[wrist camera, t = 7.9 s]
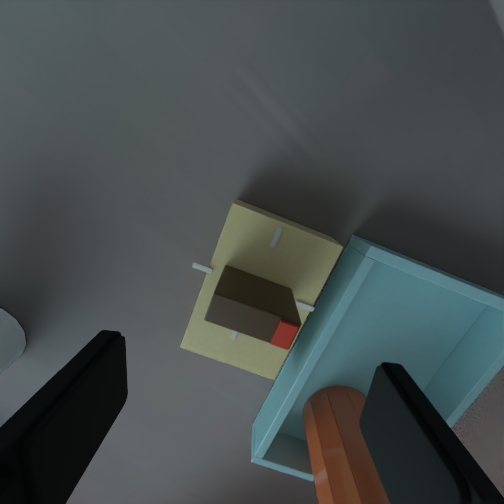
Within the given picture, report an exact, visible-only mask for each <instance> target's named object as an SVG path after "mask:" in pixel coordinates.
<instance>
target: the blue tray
mask: <svg viewBox="0 0 504 504" xmlns="http://www.w3.org/2000/svg"><path fill="white" fill-rule="evenodd" d="M382 362H390V363H399V364H401V365H402V366H403V367H404V368H405V369H406V371H407V372H408V373H409V375H410V376H411V377H412V379H413V380H414V381H415V382H416V384H417V385H418V386H419V388H420V389H421V390H422V392H423V393H424V394H425V396H426V397H427V398H428V399H429V401H430V402H431V403H432V405H433V406H434V407H435V409H436V410H437V411H438V413H439V414H440V415H441V416H442V418H443V419H444V420H445V422H446V423H447V424H448V426H449V427H450V428H451V427H452V426H453V425H454V424H455V422H456V421H457V420H458V419H459V418H460V417H461V415H462V414H463V413H464V412H465V411H466V409H467V408H468V407H469V406H470V405H471V404H472V402H473V401H474V400H475V399H476V398H477V397H478V395H479V394H480V393H481V392H482V391H483V389H484V388H485V387H486V386H487V385H488V384H489V382H490V381H491V380H492V379H493V378H494V376H495V375H496V374H497V373H498V372H499V371H500V369H501V368H502V367H503V366H504V296H503V295H501V294H499V293H496V292H494V291H491V290H489V289H487V288H484V287H482V286H479V285H477V284H474V283H472V282H469V281H467V280H464V279H462V278H459V277H457V276H454V275H452V274H449V273H447V272H445V271H442V270H440V269H437V268H435V267H432V266H430V265H427V264H425V263H422V262H420V261H417V260H415V259H412V258H410V257H407V256H405V255H403V254H400V253H398V252H395V251H393V250H390V249H388V248H385V247H383V246H380V245H378V244H375V243H373V242H370V241H368V240H365V239H363V238H360V237H358V236H356V235H352V236H351V238H350V240H349V242H348V244H347V246H346V248H345V250H344V252H343V253H342V255H341V257H340V259H339V261H338V263H337V265H336V267H335V269H334V271H333V273H332V274H331V276H330V278H329V280H328V282H327V284H326V286H325V288H324V290H323V292H322V293H321V295H320V297H319V299H318V301H317V303H316V305H315V307H314V310H313V312H312V313H311V314H310V316H309V318H308V320H307V322H306V324H305V326H304V328H303V330H302V332H301V334H300V335H299V337H298V339H297V341H296V343H295V345H294V347H293V349H292V351H291V353H290V354H289V356H288V358H287V360H286V362H285V364H284V366H283V368H282V370H281V372H280V374H279V375H278V377H277V379H276V381H275V383H274V385H273V387H272V389H271V391H270V393H269V395H268V396H267V398H266V400H265V402H264V404H263V406H262V408H261V410H260V412H259V414H258V415H257V417H256V419H255V421H254V423H253V425H252V449H251V462H253V463H256V464H259V465H262V466H265V467H268V468H272V469H275V470H278V471H281V472H284V473H287V474H291V475H294V476H297V477H300V478H303V479H306V480H310V481H313V476H312V470H311V465H310V459H309V453H308V448H307V442H306V437H305V431H304V424H303V418H302V411H303V407H304V404H305V402H306V401H307V400H308V398H309V397H310V396H311V395H313V394H314V393H315V392H317V391H319V390H321V389H323V388H326V387H330V386H348V387H352V388H355V389H357V390H359V391H361V392H362V393H363V394H364V395H365V396H366V397H367V395H368V391H369V388H370V385H371V382H372V379H373V376H374V373H375V370H376V367H377V366H380V365H381V363H382ZM313 482H314V481H313Z"/></svg>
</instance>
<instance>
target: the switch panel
mask: <svg viewBox="0 0 504 504" xmlns="http://www.w3.org/2000/svg"><path fill="white" fill-rule="evenodd" d="M342 249H343V246H342V245H341V244H340V243H338V242H337V241H336V240H334V239H333V238H332V237H330V236H328V235H325V234H323V233H320V232H318V231H315V230H313V229H310V228H308V227H305V226H303V225H300V224H298V223H295V222H293V221H290V220H288V219H285V218H283V217H280V216H278V215H275V214H273V213H270V212H268V211H265V210H263V209H260V208H258V207H255V206H253V205H250V204H248V203H245V202H243V201H240V200H238V199H237V200H235V201H234V202H233V203H232V206H231V208H230V211H229V214H228V217H227V219H226V222H225V225H224V228H223V230H222V233H221V236H220V239H219V241H218V244H217V247H216V250H215V252H214V255H213V258H212V261H211V263H210V266H209V267H206V266H204V265H201V264H198V263H196V262H194V263H193V266H192V267H193V268H196V269H199V270H201V271H204V272H207V274H206V277H205V280H204V283H203V285H202V288H201V291H200V294H199V296H198V299H197V302H196V305H195V307H194V310H193V313H192V316H191V318H190V321H189V324H188V327H187V329H186V332H185V335H184V338H183V340H182V343H181V346H180V347H181V348H183V349H186V350H189V351H192V352H195V353H198V354H201V355H204V356H207V357H210V358H212V359H215V360H218V361H221V362H224V363H227V364H230V365H233V366H236V367H238V368H241V369H244V370H247V371H250V372H253V373H256V374H259V375H262V376H265V377H267V378H270V379H273V380H274V379H275V378H276V376H277V374H278V372H279V370H280V368H281V366H282V364H283V362H284V360H285V358H286V356H287V355H288V353H289V351H290V349H291V347H292V345H293V343H294V341H295V339H296V337H297V335H298V334H299V332H300V330H301V328H302V326H303V324H304V322H305V320H306V318H307V316H308V314H309V312H310V311H311V312H313V310H314V307H313V305H314V303H315V301H316V299H317V297H318V295H319V293H320V291H321V289H322V288H323V286H324V284H325V282H326V280H327V278H328V276H329V274H330V272H331V270H332V268H333V266H334V265H335V263H336V261H337V259H338V257H339V255H340V253H341V251H342ZM225 265H228V266H231V267H234V268H237V269H239V270H242V271H245V272H247V273H250V274H253V275H256V276H258V277H261V278H264V279H266V280H269V281H272V282H275V283H277V284H280V285H283V286H285V287H288V288H291V289H292V292H293V296H294V299H295V302H296V306H297V309H298V313H299V316H300V319H301V323H302V325H301V327H300V329H299V331H298V333H297V335H296V337H295V339H294V341H293V343H292V345H291V347H290V349H288V350H286V349H283V348H280V347H277V346H274V345H271V344H270V343H268V342H265V341H262V340H259V339H256V338H253V337H250V336H248V335H245V334H242V333H239V332H236V331H233V330H230V329H227V328H225V327H222V326H219V325H216V324H213V323H210V322H207V321H205V320H204V318H205V315H206V312H207V310H208V307H209V304H210V301H211V299H212V296H213V293H214V291H215V288H216V286H217V284H218V281H219V279H220V276H221V274H222V271H223V269H224V266H225Z"/></svg>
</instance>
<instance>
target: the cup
mask: <svg viewBox="0 0 504 504" xmlns="http://www.w3.org/2000/svg"><path fill="white" fill-rule="evenodd" d="M366 398H367V397H366V396H365V395H364V394H363V393H362V392H361V391H359V390H357V389H355V388H352V387H348V386H330V387H326V388H323V389H321V390H319V391H317V392H315V393H314V394H313V395H311V396H310V397H309V398H308V400H307V401H306V402H305V404H304V407H303V411H302V418H303V424H304V431H305V437H306V442H307V448H308V453H309V459H310V465H311V470H312V476H313V481H314V487H315V493H316V498H317V504H390V503H389V500H388V498H387V495H386V493H385V490H384V488H383V485H382V483H381V480H380V478H379V475H378V473H377V470H376V468H375V465H374V463H373V460H372V458H371V455H370V453H369V450H368V448H367V446H366V443H365V441H364V438H363V436H362V433H361V430H360V426H359V420H360V416H361V413H362V410H363V407H364V404H365V401H366Z"/></svg>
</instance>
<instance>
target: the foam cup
mask: <svg viewBox="0 0 504 504" xmlns="http://www.w3.org/2000/svg"><path fill="white" fill-rule="evenodd" d="M25 347H26V339H25V332H24V331H23V329H22V327H21V326H20V324H19V323H18V321H17V320H16V319H15V318H14V317H13V316H11V315H10V314H9V313H7V312H6V311H5V310H3V309H1V308H0V375H1V374H2V373H3V372H4V371H5V370H6V369H7V368H8V367H9V366H11V365H12V364H13V363H14V362H15V361H16V359H17V358H18V357H20V356H21V355H22V353H23V351H24V349H25Z"/></svg>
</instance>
